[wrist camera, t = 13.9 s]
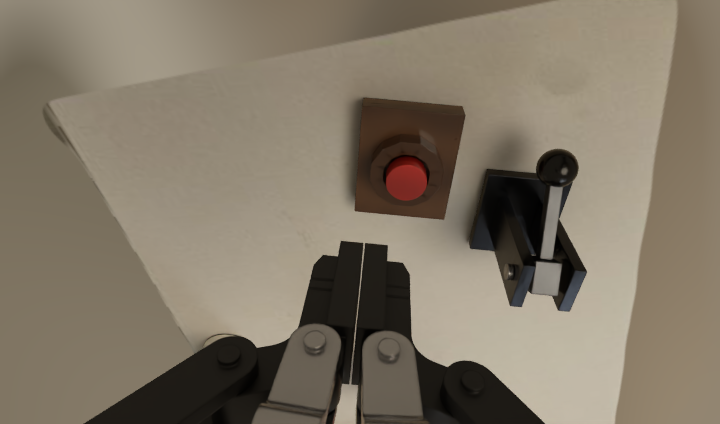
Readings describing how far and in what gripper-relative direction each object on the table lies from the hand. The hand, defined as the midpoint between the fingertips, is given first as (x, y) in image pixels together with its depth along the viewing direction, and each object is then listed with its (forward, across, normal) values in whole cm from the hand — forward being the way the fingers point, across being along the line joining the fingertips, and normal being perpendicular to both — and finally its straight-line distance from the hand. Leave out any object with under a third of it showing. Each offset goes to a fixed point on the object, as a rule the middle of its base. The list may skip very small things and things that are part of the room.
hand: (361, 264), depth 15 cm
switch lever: (+22, -15, +12) cm, 29 cm away
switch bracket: (+29, -15, +15) cm, 36 cm away
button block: (+29, -3, +10) cm, 31 cm away
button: (+25, -3, +10) cm, 27 cm away
